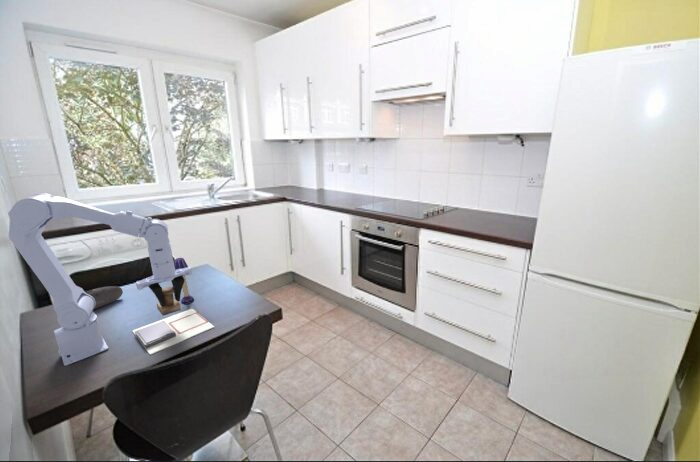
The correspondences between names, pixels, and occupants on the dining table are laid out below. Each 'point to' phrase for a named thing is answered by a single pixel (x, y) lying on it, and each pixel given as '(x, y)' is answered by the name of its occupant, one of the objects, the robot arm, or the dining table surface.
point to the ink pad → (155, 334)
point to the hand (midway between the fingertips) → (170, 302)
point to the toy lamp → (181, 264)
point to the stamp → (168, 302)
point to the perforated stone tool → (105, 295)
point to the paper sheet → (180, 328)
